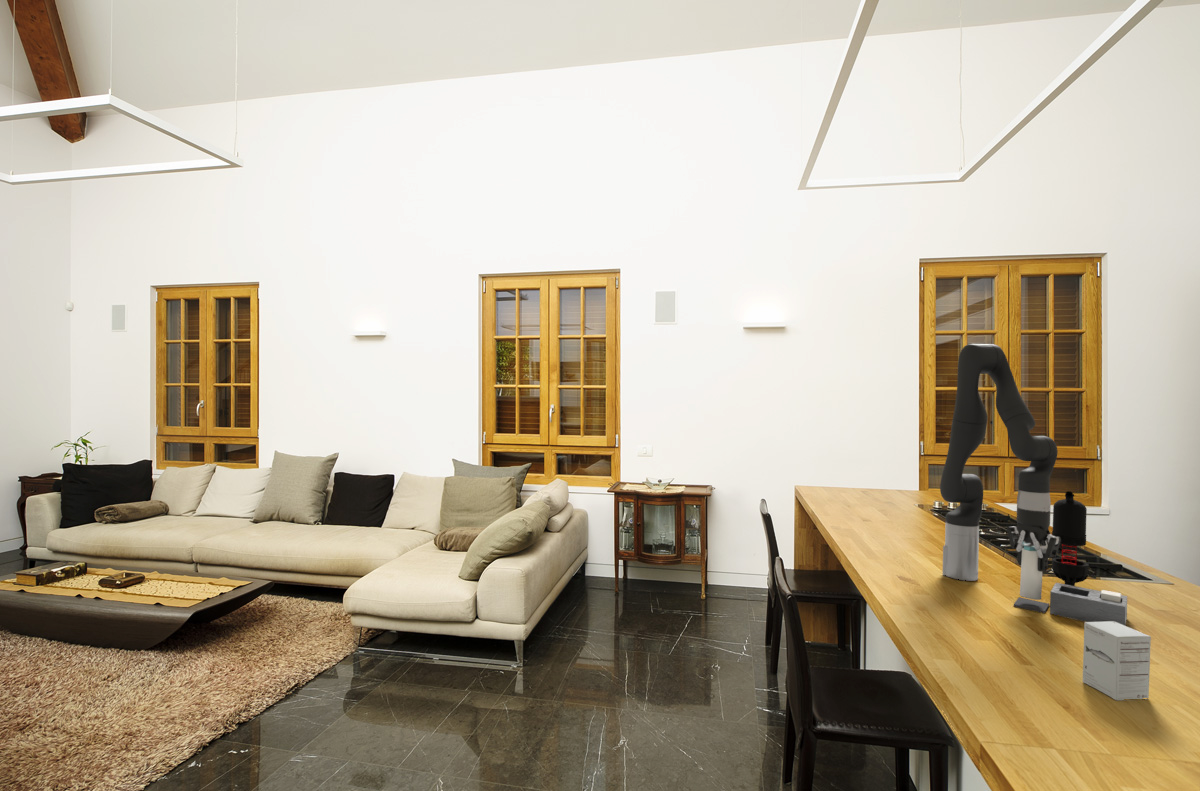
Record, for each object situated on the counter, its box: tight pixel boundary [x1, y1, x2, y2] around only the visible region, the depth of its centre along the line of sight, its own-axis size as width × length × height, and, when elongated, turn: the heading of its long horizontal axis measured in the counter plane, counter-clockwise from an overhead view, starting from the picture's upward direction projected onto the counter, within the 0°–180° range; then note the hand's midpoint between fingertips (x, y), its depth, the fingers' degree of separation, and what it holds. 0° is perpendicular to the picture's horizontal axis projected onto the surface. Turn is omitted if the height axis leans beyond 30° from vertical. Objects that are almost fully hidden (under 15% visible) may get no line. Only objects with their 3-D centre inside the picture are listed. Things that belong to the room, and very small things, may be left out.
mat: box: [1013, 597, 1050, 614], centre depth 162 cm, size 7×8×1 cm
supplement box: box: [1082, 621, 1152, 701], centre depth 116 cm, size 7×7×13 cm
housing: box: [1049, 582, 1128, 626], centre depth 155 cm, size 15×11×6 cm
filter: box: [1051, 490, 1090, 586], centre depth 181 cm, size 14×9×30 cm
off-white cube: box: [1100, 589, 1122, 602], centre depth 152 cm, size 4×4×5 cm
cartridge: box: [1019, 545, 1043, 601], centre depth 162 cm, size 5×5×14 cm
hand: (1032, 567), depth 162 cm, fingers closed on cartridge, 4 cm apart
